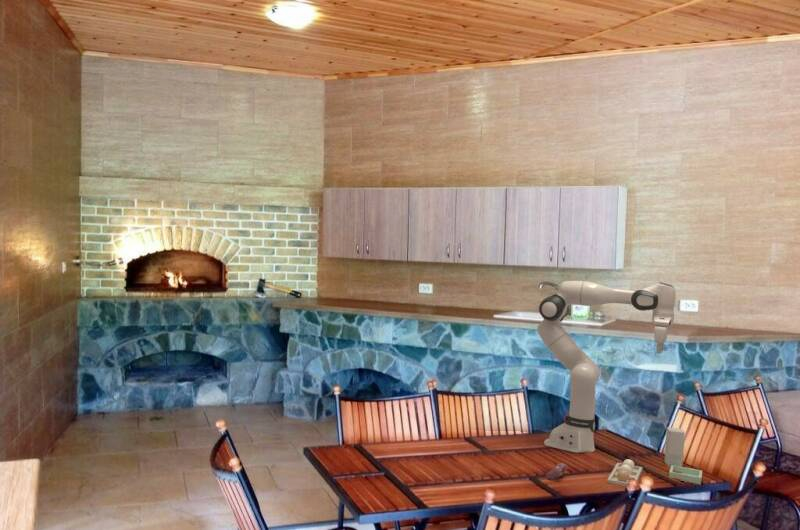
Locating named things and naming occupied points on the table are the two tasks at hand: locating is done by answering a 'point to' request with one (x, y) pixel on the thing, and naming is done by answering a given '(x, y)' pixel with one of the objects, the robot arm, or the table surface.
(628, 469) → the white egg
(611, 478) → the shallow rectangular tray
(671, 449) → the skincare box
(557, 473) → the brown animal figurine
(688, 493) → the table surface
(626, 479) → the brown egg
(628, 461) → the white egg
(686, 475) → the dish
